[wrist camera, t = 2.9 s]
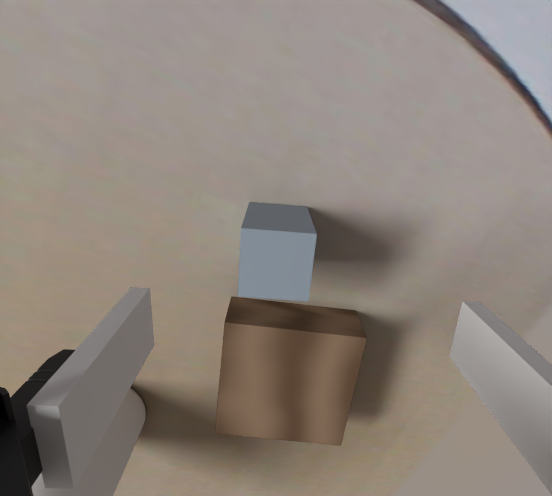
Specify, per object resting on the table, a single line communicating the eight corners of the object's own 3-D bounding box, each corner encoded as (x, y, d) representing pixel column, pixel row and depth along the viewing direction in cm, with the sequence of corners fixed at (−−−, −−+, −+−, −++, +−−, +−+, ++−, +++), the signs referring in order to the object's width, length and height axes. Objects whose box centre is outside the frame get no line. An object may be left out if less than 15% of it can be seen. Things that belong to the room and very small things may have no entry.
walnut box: (222, 395, 38) (214, 433, 34) (231, 294, 34) (224, 322, 30) (333, 406, 39) (340, 445, 34) (354, 308, 35) (366, 338, 30)
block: (246, 255, 33) (237, 296, 25) (249, 202, 31) (241, 228, 24) (301, 260, 33) (308, 301, 25) (306, 206, 31) (316, 234, 24)
